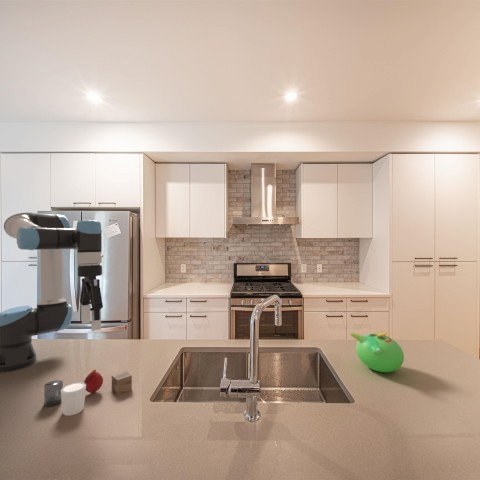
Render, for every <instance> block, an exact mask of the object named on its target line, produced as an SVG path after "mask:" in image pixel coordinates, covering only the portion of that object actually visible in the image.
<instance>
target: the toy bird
mask: <svg viewBox="0 0 480 480" xmlns="http://www.w3.org/2000/svg"><path fill="white" fill-rule="evenodd" d="M387 334H388V333H387V332H381V333H380V332H378V333H367V334H365V335H363V334H362V335H361V334H359V333H355V332H350V333H349V335H350V336H351V337H353V338H354V339H355V340H357V343H356V346H355V347H356V348H355V349H356V353H357V356H358V358H359V360H360V362H362V363H363V364H364V365H365V366H366V367H367V368H369V369H371V370H373V371H376V372H379V373H391V372H392V373H393V372H395V371H398V369H400V368H401V366H402V365H403V363H404V361H405V354H404V351H403V349H402V347H401V346H400V344H399V343H398V342H397V341H396V340H394V339H393V338H391V337H390V336H387Z"/></svg>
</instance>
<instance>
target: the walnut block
mask: <svg viewBox="0 0 480 480" xmlns="http://www.w3.org/2000/svg"><path fill="white" fill-rule="evenodd" d="M132 376H133V375H132V374H131V373H130V372H128V371H127V370H124V371H121V372H118V373H115V374H112V375H111V391H113V393H114V394H116V395H117V396H118V395H121V394H123V393H125V392H128V391H131V390H132V389H133V387H132V386H133V385H132V384H133V382H132V381H133V380H132V379H133V377H132Z"/></svg>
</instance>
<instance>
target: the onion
mask: <svg viewBox="0 0 480 480" xmlns="http://www.w3.org/2000/svg"><path fill="white" fill-rule="evenodd" d="M83 383H85V384H86V391H85V392H88V393H90V394H96V393H97V392H98V391H99V390H100V389H101V388H102V385H103V384H104V378H103V376H102V374H100V373H99V372H97V369H96V368H94V369H93V370H91V372H90V373H89V374H88V375H87V376H86V377H85V379H84V382H83Z"/></svg>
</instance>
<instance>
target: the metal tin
mask: <svg viewBox="0 0 480 480" xmlns="http://www.w3.org/2000/svg"><path fill="white" fill-rule="evenodd" d="M63 387H64V381H63V380H62V379H55V380H52V381H48V382H47V383H45V384H44V386H43V388H44V389H43V390H44V392H43V398H44V399H43V400H44V401H43V404H44V405H43V406H44V407H46V408H47V407H48V408H53V407H56V406H58V405H60V404H62V401H61V389H62V388H63Z"/></svg>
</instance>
